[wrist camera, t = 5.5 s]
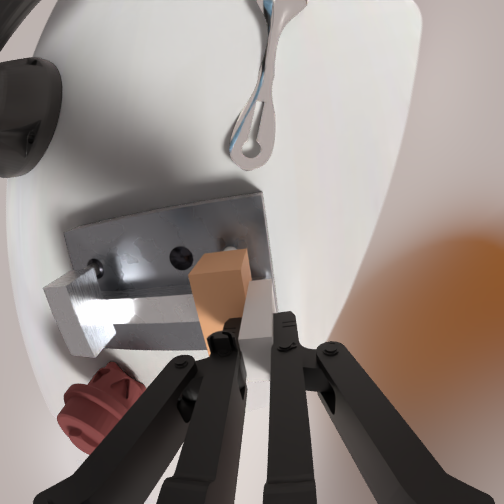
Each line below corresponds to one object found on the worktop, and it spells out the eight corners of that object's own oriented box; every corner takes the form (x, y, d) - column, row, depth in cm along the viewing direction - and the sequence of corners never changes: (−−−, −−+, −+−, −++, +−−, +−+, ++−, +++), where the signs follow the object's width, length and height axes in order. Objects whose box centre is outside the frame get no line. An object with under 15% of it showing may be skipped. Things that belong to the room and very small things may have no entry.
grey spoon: (276, 175, 19) (211, 164, 19) (275, 177, 22) (219, 167, 22) (313, -24, 14) (260, -31, 14) (308, -4, 17) (261, -11, 17)
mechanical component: (118, 405, 33) (81, 353, 30) (171, 403, 31) (133, 345, 29) (85, 464, 21) (32, 410, 18) (143, 477, 19) (82, 419, 17)
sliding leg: (210, 245, 21) (188, 275, 15) (249, 240, 21) (240, 269, 15) (225, 322, 23) (212, 368, 17) (261, 319, 23) (257, 366, 17)
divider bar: (75, 264, 23) (36, 288, 17) (260, 239, 21) (256, 267, 15) (95, 322, 25) (64, 354, 19) (271, 314, 23) (270, 359, 17)
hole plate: (81, 225, 25) (63, 232, 22) (262, 192, 23) (261, 195, 20) (114, 333, 28) (102, 348, 25) (280, 327, 26) (280, 345, 23)
